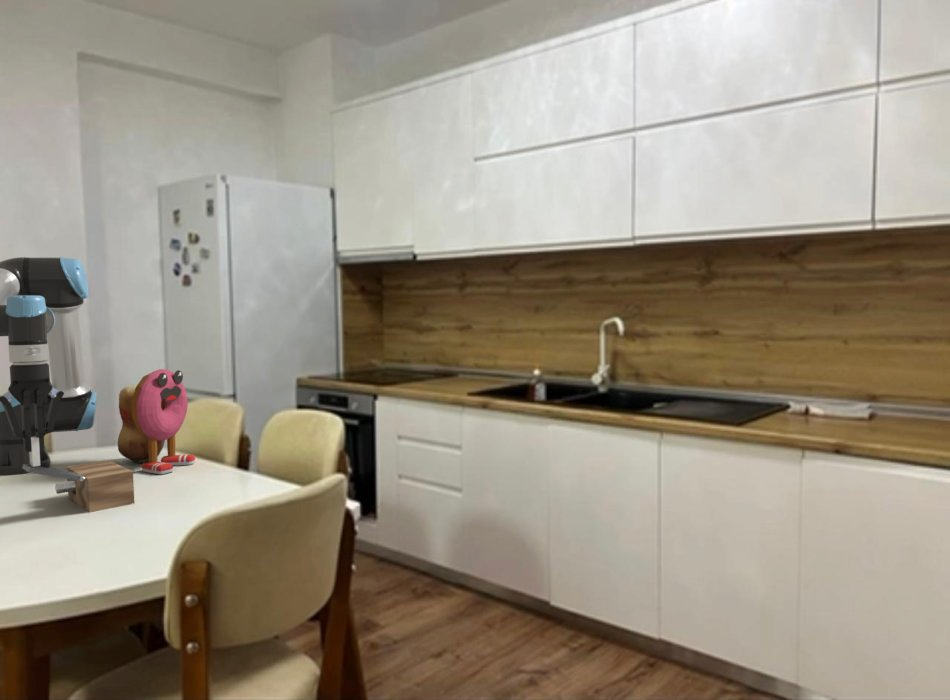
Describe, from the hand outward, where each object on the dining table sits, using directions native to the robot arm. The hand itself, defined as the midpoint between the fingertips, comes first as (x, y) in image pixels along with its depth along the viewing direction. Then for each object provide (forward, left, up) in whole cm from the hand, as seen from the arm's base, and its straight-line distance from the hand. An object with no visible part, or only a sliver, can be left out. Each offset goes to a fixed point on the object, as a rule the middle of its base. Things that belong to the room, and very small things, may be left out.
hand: (35, 465), depth 156 cm
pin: (-9, +14, -11) cm, 20 cm away
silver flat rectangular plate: (0, +9, -4) cm, 10 cm away
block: (-5, +15, -12) cm, 20 cm away
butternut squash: (-42, +38, -13) cm, 58 cm away
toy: (-28, +40, -13) cm, 50 cm away
